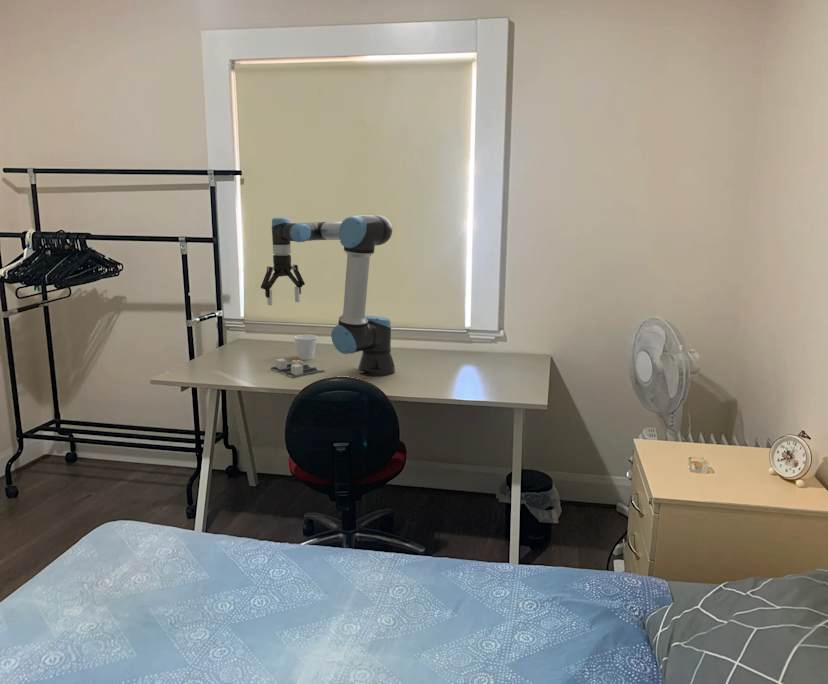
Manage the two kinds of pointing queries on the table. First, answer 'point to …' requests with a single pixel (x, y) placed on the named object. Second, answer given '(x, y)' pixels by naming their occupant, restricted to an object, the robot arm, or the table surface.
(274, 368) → the panel
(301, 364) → the toggle
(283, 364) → the toggle
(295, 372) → the toggle
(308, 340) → the cup
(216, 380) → the table surface
